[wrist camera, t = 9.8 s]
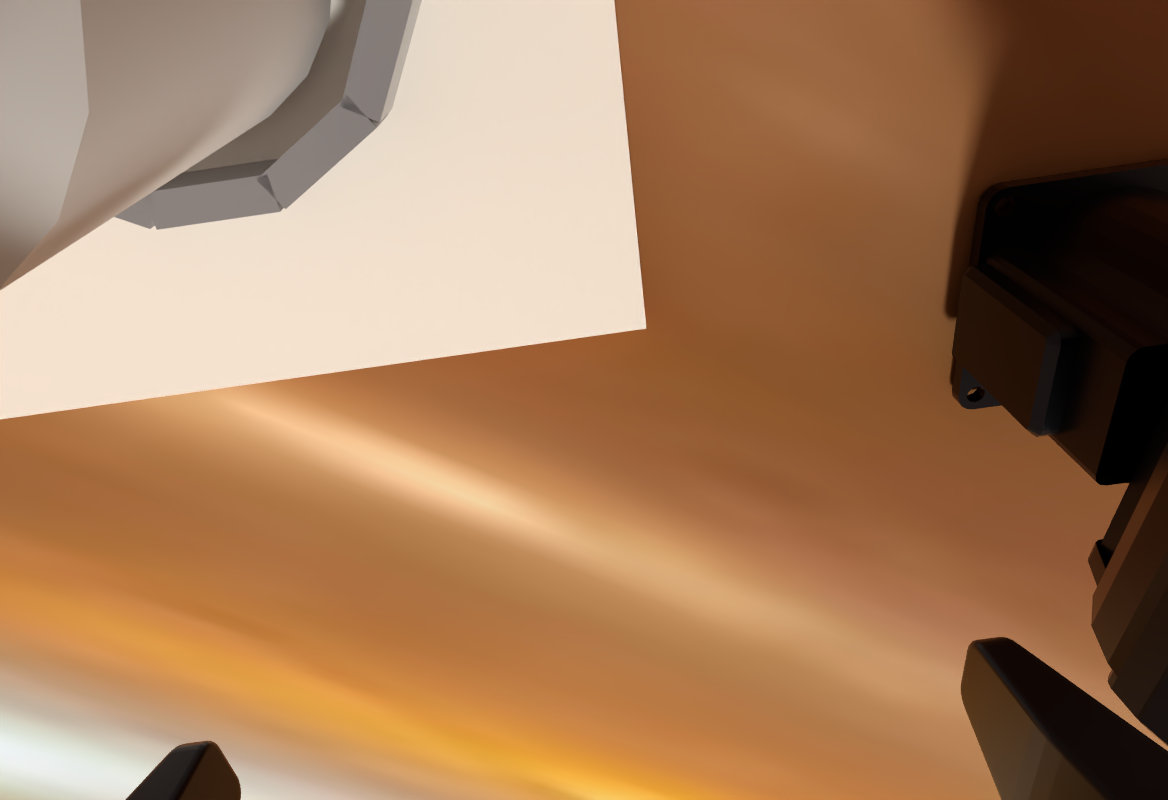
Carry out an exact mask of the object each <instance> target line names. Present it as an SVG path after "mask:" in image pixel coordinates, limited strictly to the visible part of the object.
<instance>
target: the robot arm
mask: <svg viewBox="0 0 1168 800" xmlns="http://www.w3.org/2000/svg"><path fill="white" fill-rule="evenodd" d="M1005 197H1007V199H1008V201H1007V204H1006V206H1005V207H1004V208H1003V209H1002V210H1001V211H998V212H996V211H995V208H996V205H997V203H998V202H999V201H1000V200H1001V199H1003V198H1005ZM952 355H953V357H954V358H955V359H956V365H955V372H954V380H953V387H952V394H953V396H954V398H955V399H956V400H957V401H958V403H959V404H960V405H961V406H962V407H964V408H966V409H978V408H985V407H993V406H1000V405H1002V406H1003V407H1004V408H1005V409H1006V410H1007V411H1008V412H1009V413H1010V414H1011V415H1012V416H1013V417H1014V418H1015V419H1016V420H1017V421H1018V422H1019V423H1020V424H1021V425H1022V426H1023V427H1024V428H1025V429H1027V430H1028V431H1029V432H1030V433H1031V434H1033V435H1034V436H1036V437H1039V436H1046V435H1049V436H1050V437H1051V438H1052V439H1053V440H1054V441H1055V442H1056V443H1057V444H1058V445H1059V446H1060V447H1061V448H1062V449H1063V450H1064V451H1065V452H1066V453H1067V454H1068V455H1069V456H1070V457H1071V458H1072V459H1073V460H1074V461H1075V462H1076V463H1077V464H1079V465H1080V466H1081V467H1082V468H1083V469H1084V470H1085V471H1086V472H1087V473H1088V474H1089V475H1090V476H1091V477H1092V478H1093V479H1094V480H1095V481H1096V482H1097V483H1099V484H1100V485H1112V484H1120V483H1129V485H1128V488H1127V490H1126V492H1125V494H1124V496H1123V498H1122V500H1121V502H1120V504H1119V507H1118V509H1117V511H1116V513H1115V515H1114V517H1113V519H1112V521H1111V524H1110V526H1109V528H1108V530H1107V532H1106V534H1105V536H1104V538H1103V539H1101V540H1098V541H1097V542H1096V543H1095V545H1094V547H1093V549H1092V552H1091V554H1090V556H1089V558H1088V562H1089V565H1090V568H1091V571H1092V573H1093V576H1094V579H1095V581H1096V584H1097V588H1096V590H1095V593H1094V595H1093V604H1092V624H1091V626H1092V628H1093V630H1094V633H1095V635H1096V637H1097V640H1098V642H1099V644H1100V646H1101V649H1102V651H1103V653H1104V656H1105V658H1106V660H1107V663H1108V664H1109V666H1110V667H1111V669H1112V671H1111V672H1110V674H1109V676H1108V683H1109V685H1110V687H1111V689H1112V690H1113V691H1114V692H1115V694H1116V695H1117V696H1118V697H1119V698H1120V699H1121V701H1122V702H1123V703H1124V704H1125V705H1126V706H1127V708H1128V709H1129V710H1130V711H1131V712H1132V713H1133V714H1134V716H1135V717H1136V718H1137V719H1138V720H1139V721H1140V722H1141V723H1142V724H1143V725H1144V726H1145V727H1146V728H1147V729H1148V730H1150V731H1151V732H1152V733H1153V734H1154V735H1155V736H1157V737H1158V738H1159V739H1160V740H1161V741H1162V742H1164V743H1165V744H1166V745H1167V746H1168V159H1163V160H1156V161H1149V162H1142V163H1135V164H1128V165H1121V166H1114V167H1107V168H1100V169H1093V170H1086V171H1079V172H1072V173H1065V174H1058V175H1051V176H1044V177H1037V178H1031V179H1024V180H1017V181H1010V182H1003V183H998V184H995V185H992V186H991V187H990V188H988V189H987V190H986V191H985V192H984V193H983V195H982V196H981V197H980V200H979V203H978V207H977V214H976V221H975V228H974V236H973V243H972V250H971V257H970V264H969V267H968V269H967V270H966V271H965V273H964V274H963V276H962V282H961V290H960V297H959V304H958V312H957V319H956V327H955V334H954V342H953V349H952ZM975 387H978V388H977V390H976V391H975V392H974V393H973V394H970V395H967V394H968V392H969V391H970V390H971V389H972V388H975ZM961 695H962V700H963V704H964V707H965V709H966V712H967V715H968V717H969V720H970V722H971V725H972V727H973V730H974V732H975V735H976V737H977V740H978V742H979V745H980V747H981V750H982V752H983V755H984V757H985V760H986V762H987V765H988V767H989V770H990V772H991V775H992V777H993V780H994V782H995V785H996V787H997V790H998V792H999V795H1000V797H1001V800H1168V751H1167V750H1165V749H1164V748H1162V747H1161V746H1160V745H1158V744H1157V743H1155V742H1154V741H1153V740H1151V739H1150V738H1148V737H1147V736H1146V735H1144V734H1143V733H1142V732H1140V731H1139V730H1137V729H1136V728H1135V727H1133V726H1132V725H1130V724H1129V723H1128V722H1126V721H1125V720H1123V719H1122V718H1121V717H1119V716H1118V715H1116V714H1115V713H1114V712H1112V711H1111V710H1109V709H1108V708H1107V707H1105V706H1104V705H1102V704H1101V703H1100V702H1098V701H1097V700H1096V699H1094V698H1093V697H1091V696H1090V695H1089V694H1087V693H1086V692H1084V691H1083V690H1082V689H1080V688H1079V687H1077V686H1076V685H1075V684H1073V683H1072V682H1070V681H1069V680H1068V679H1066V678H1065V677H1063V676H1062V675H1061V674H1059V673H1058V672H1057V671H1055V670H1054V669H1052V668H1051V667H1050V666H1048V665H1047V664H1045V663H1044V662H1043V661H1041V660H1040V659H1038V658H1037V657H1036V656H1034V655H1033V654H1031V653H1030V652H1029V651H1027V650H1026V649H1024V648H1023V647H1022V646H1020V645H1019V644H1017V643H1016V642H1014V641H1013V640H1011V639H1008V638H1005V637H996V638H989V639H981V640H975V641H973V642H972V643H971V644H970V645H969V647H968V650H967V655H966V660H965V666H964V671H963V676H962V682H961ZM240 799H241V788H240V783H239V780H238V777H237V776H236V774H235V772H234V771H233V769H232V767H231V766H230V764H229V763H228V761H227V759H226V758H225V756H224V754H223V753H222V751H221V750H220V748H219V746H218V745H217V744H216V743H214V742H212V741H202V742H194V743H187V744H182V745H179V746H177V747H176V748H175V749H173V750H172V751H171V752H170V753H169V754H168V755H167V756H166V757H165V758H164V759H163V760H162V761H161V762H160V763H159V764H158V765H157V767H156V768H155V769H154V770H153V771H152V772H151V773H150V774H149V775H148V776H147V777H146V778H145V779H144V780H143V782H142V783H141V784H140V785H139V786H138V787H137V788H136V789H135V790H134V791H133V792H132V793H131V794H130V795H129V797H128V798H127V799H126V800H240Z"/></svg>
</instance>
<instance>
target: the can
mask: <svg viewBox="0 0 1168 800" xmlns="http://www.w3.org/2000/svg"><path fill="white" fill-rule="evenodd" d="M330 7H331V0H0V290H2V289H3V288H5V287H6V286H8V285H9V284H11V283H13V282H14V281H16V280H17V279H19V278H20V277H22V276H23V275H25V274H26V273H28V272H30V271H31V270H33V269H34V268H36V267H37V266H39V265H40V264H42V263H43V262H45V261H47V260H48V259H50V258H51V257H53V256H54V255H56V254H57V253H59V252H60V251H62V250H64V249H65V248H67V247H68V246H70V245H71V244H73V243H74V242H76V241H77V240H79V239H81V238H82V237H84V236H85V235H87V234H88V233H90V232H91V231H93V230H94V229H96V228H98V227H99V226H101V225H102V224H104V223H105V222H107V221H108V220H110V219H111V218H113V217H115V216H116V215H118V214H119V213H121V212H122V211H124V210H125V209H127V208H128V207H130V206H132V205H133V204H135V203H136V202H138V201H139V200H141V199H142V198H144V197H145V196H147V195H149V194H150V193H152V192H153V191H155V190H156V189H158V188H159V187H161V186H162V185H164V184H166V183H167V182H169V181H170V180H172V179H173V178H175V177H176V176H178V175H179V174H181V173H183V172H184V171H186V170H187V169H189V168H190V167H192V166H193V165H195V164H196V163H198V162H200V161H201V160H203V159H204V158H206V157H207V156H209V155H210V154H212V153H213V152H215V151H217V150H218V149H220V148H221V147H223V146H224V145H226V144H227V143H229V142H230V141H232V140H234V139H235V138H237V137H238V136H240V135H241V134H243V133H244V132H246V131H247V130H249V129H251V128H252V127H254V126H255V125H257V124H258V123H260V122H261V121H263V120H264V119H266V118H268V117H269V116H271V115H272V113H273V112H274V111H275V110H276V109H277V108H278V107H279V106H280V105H281V104H282V103H283V102H284V101H285V99H286V98H287V97H288V96H289V95H290V94H291V93H292V92H293V91H294V90H295V89H296V88H297V87H298V85H299V84H300V83H301V82H302V81H303V80H304V79H305V78H306V77H307V76H308V73H309V71H310V68H311V66H312V63H313V61H314V58H315V56H316V53H317V51H318V48H319V46H320V44H321V41H322V39H323V36H324V34H325V31H326V29H327V26H328V24H329V21H330Z"/></svg>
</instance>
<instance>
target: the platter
mask: <svg viewBox="0 0 1168 800" xmlns="http://www.w3.org/2000/svg"><path fill="white" fill-rule="evenodd" d="M639 329H646V321H645V310H644V300H643V290H642V280H641V269H640V259H639V249H638V239H637V229H636V218H635V208H634V198H633V188H632V178H631V167H630V157H629V147H628V137H627V126H626V116H625V106H624V96H623V86H622V75H621V65H620V55H619V45H618V34H617V24H616V14H615V4H614V0H331V7H330V21H329V24H328V26H327V29H326V31H325V34H324V36H323V39H322V41H321V44H320V46H319V48H318V51H317V53H316V56H315V58H314V61H313V63H312V66H311V68H310V71H309V73H308V76H307V77H306V78H305V79H304V80H303V81H302V82H301V83H300V84H299V85H298V87H297V88H296V89H295V90H294V91H293V92H292V93H291V94H290V95H289V96H288V97H287V98H286V99H285V101H284V102H283V103H282V104H281V105H280V106H279V107H278V108H277V109H276V110H275V111H274V112H273V113H272V115H271V116H269V117H268V118H266V119H264V120H263V121H261V122H260V123H258V124H257V125H255V126H254V127H252V128H251V129H249V130H247V131H246V132H244V133H243V134H241V135H240V136H238V137H237V138H235V139H234V140H232V141H230V142H229V143H227V144H226V145H224V146H223V147H221V148H220V149H218V150H217V151H215V152H213V153H212V154H210V155H209V156H207V157H206V158H204V159H203V160H201V161H200V162H198V163H196V164H195V165H193V166H192V167H190V168H189V169H187V170H186V171H184V172H183V173H181V174H179V175H178V176H176V177H175V178H173V179H172V180H170V181H169V182H167V183H166V184H164V185H162V186H161V187H159V188H158V189H156V190H155V191H153V192H152V193H150V194H149V195H147V196H145V197H144V198H142V199H141V200H139V201H138V202H136V203H135V204H133V205H132V206H130V207H128V208H127V209H125V210H124V211H122V212H121V213H119V214H118V215H116V216H115V217H113V218H111V219H110V220H108V221H107V222H105V223H104V224H102V225H101V226H99V227H98V228H96V229H94V230H93V231H91V232H90V233H88V234H87V235H85V236H84V237H82V238H81V239H79V240H77V241H76V242H74V243H73V244H71V245H70V246H68V247H67V248H65V249H64V250H62V251H60V252H59V253H57V254H56V255H54V256H53V257H51V258H50V259H48V260H47V261H45V262H43V263H42V264H40V265H39V266H37V267H36V268H34V269H33V270H31V271H30V272H28V273H26V274H25V275H23V276H22V277H20V278H19V279H17V280H16V281H14V282H13V283H11V284H9V285H8V286H6V287H5V288H3V289H2V290H0V419H6V418H13V417H20V416H27V415H34V414H41V413H48V412H56V411H63V410H70V409H77V408H84V407H91V406H98V405H105V404H112V403H120V402H127V401H134V400H141V399H148V398H155V397H162V396H169V395H176V394H184V393H191V392H198V391H205V390H212V389H219V388H226V387H233V386H240V385H248V384H255V383H262V382H269V381H276V380H283V379H290V378H297V377H304V376H312V375H319V374H326V373H333V372H340V371H347V370H354V369H361V368H368V367H376V366H383V365H390V364H397V363H404V362H411V361H418V360H425V359H432V358H439V357H447V356H454V355H461V354H468V353H475V352H482V351H489V350H496V349H503V348H511V347H518V346H525V345H532V344H539V343H546V342H553V341H560V340H567V339H575V338H582V337H589V336H596V335H603V334H610V333H617V332H624V331H631V330H639Z"/></svg>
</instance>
